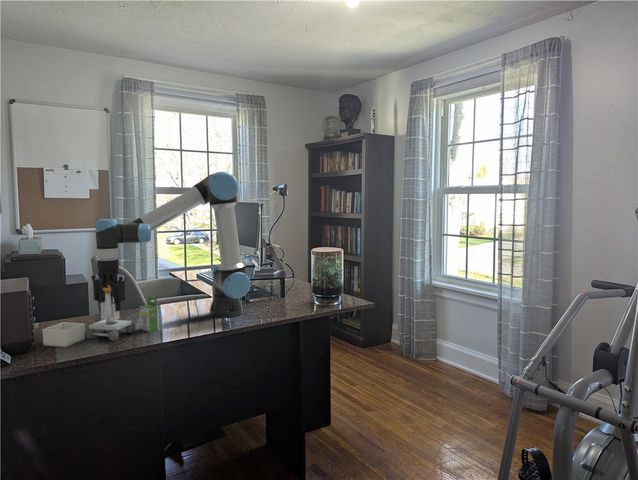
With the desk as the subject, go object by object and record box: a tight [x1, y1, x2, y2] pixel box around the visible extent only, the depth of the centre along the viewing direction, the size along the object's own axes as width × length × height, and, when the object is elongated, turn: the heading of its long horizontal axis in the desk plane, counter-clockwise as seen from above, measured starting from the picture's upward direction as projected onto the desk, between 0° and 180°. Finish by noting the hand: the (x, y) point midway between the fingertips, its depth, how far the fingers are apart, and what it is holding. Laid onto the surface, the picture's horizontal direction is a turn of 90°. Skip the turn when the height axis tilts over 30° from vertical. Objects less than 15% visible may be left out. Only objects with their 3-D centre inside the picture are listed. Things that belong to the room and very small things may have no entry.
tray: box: [42, 321, 87, 348], centre depth 163 cm, size 10×10×6 cm
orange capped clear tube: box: [103, 285, 115, 338], centre depth 170 cm, size 4×4×19 cm
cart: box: [85, 319, 136, 342], centre depth 171 cm, size 12×14×5 cm
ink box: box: [139, 295, 159, 333], centre depth 178 cm, size 7×4×13 cm, turn 50°
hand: (110, 318), depth 170 cm, fingers open, 4 cm apart
